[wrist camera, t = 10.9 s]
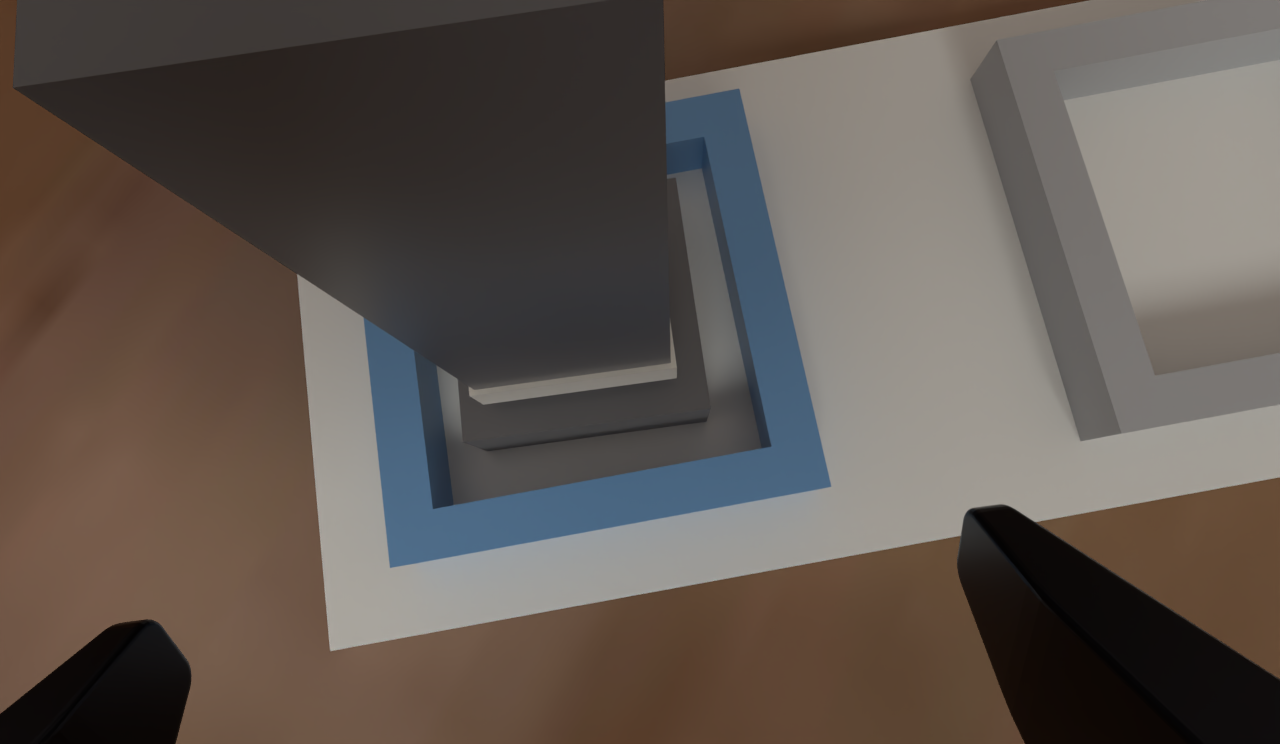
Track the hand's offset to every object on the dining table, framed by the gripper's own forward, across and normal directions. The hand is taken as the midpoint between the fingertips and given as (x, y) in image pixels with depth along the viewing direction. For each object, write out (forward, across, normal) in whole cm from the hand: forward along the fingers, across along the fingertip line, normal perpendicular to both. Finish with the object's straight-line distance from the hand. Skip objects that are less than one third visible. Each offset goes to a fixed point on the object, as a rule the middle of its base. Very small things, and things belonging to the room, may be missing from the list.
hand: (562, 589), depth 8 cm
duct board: (+10, -7, +2) cm, 13 cm away
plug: (+9, 0, +2) cm, 10 cm away
